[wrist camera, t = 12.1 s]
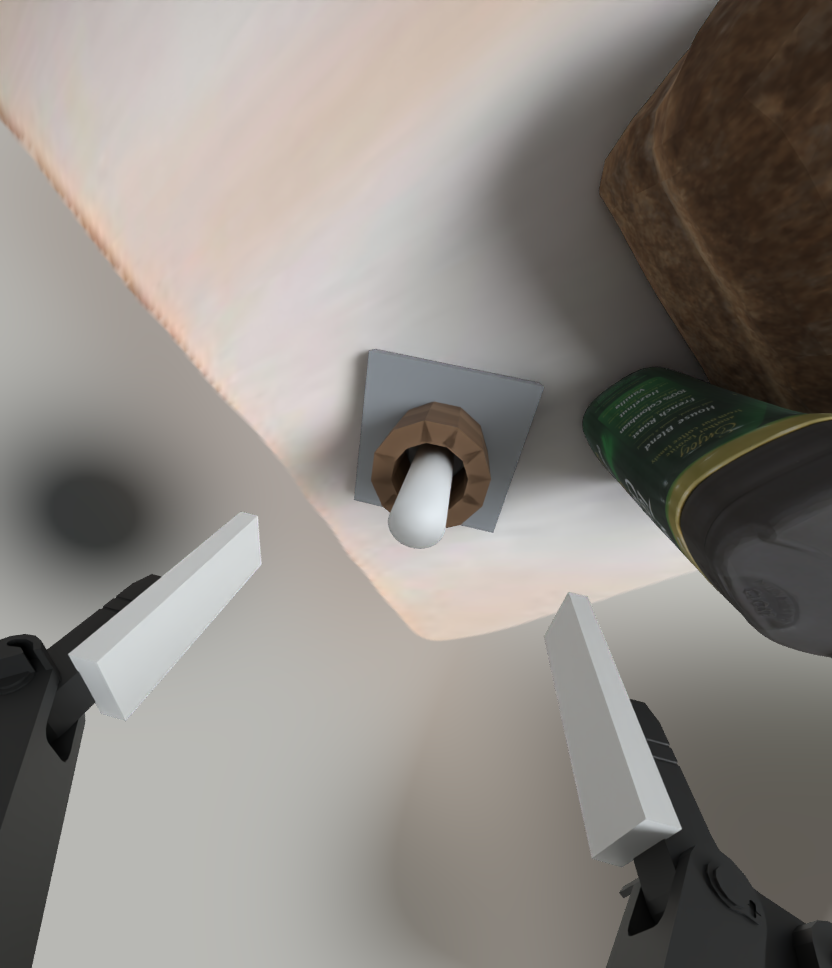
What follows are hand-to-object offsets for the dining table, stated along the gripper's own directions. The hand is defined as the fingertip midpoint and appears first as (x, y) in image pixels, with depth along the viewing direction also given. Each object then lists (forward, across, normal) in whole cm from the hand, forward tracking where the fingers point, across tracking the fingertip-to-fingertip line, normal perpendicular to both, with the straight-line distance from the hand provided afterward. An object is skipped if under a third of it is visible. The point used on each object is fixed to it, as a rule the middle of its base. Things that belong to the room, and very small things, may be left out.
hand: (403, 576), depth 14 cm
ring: (+16, 0, -1) cm, 17 cm away
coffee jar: (+19, +16, +4) cm, 25 cm away
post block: (+18, 0, -1) cm, 19 cm away
